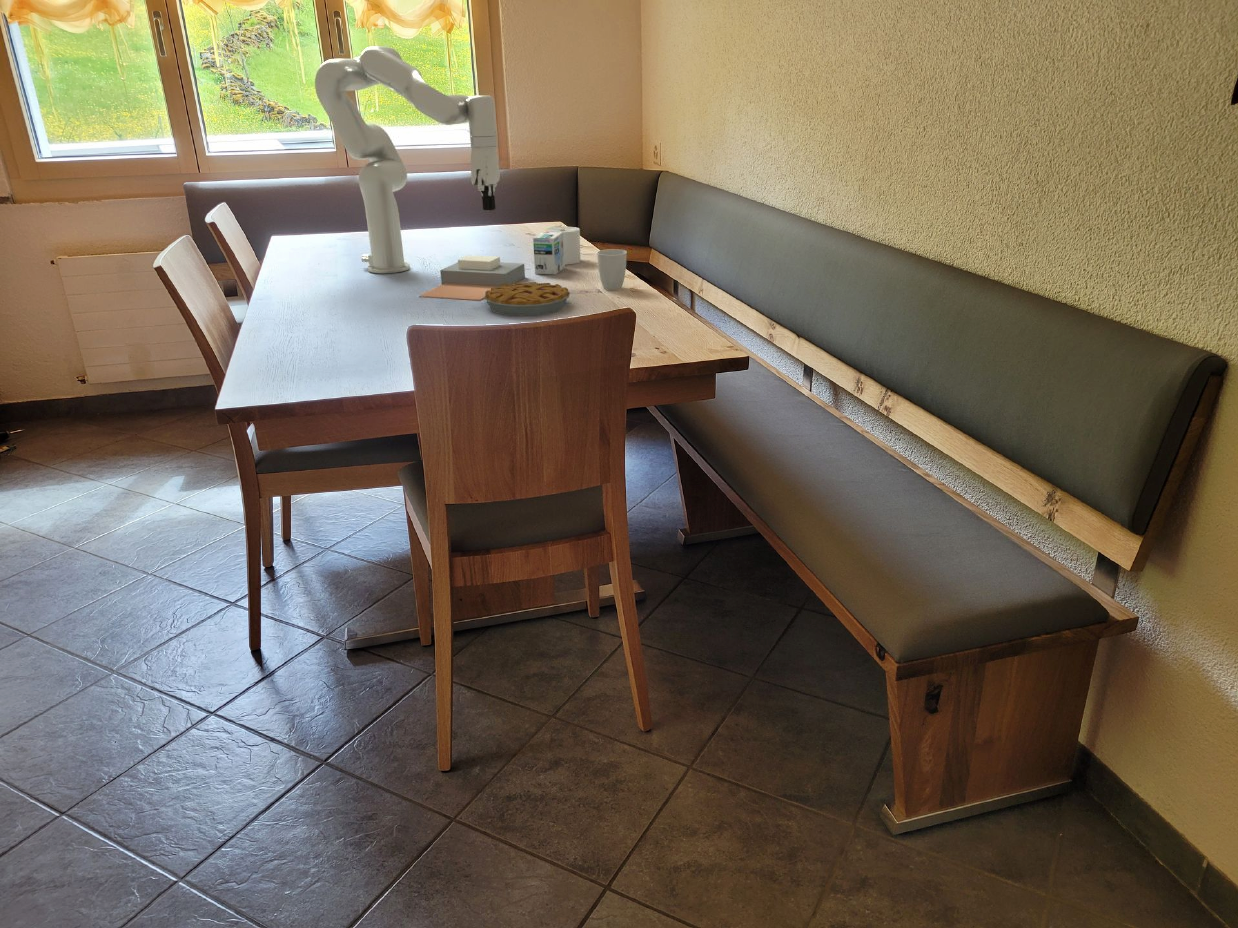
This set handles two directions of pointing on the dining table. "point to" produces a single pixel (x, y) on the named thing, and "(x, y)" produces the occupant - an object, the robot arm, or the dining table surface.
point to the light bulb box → (548, 253)
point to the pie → (526, 298)
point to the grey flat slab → (484, 275)
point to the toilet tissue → (569, 243)
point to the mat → (458, 292)
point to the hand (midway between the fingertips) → (489, 209)
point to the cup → (612, 268)
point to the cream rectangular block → (479, 262)
